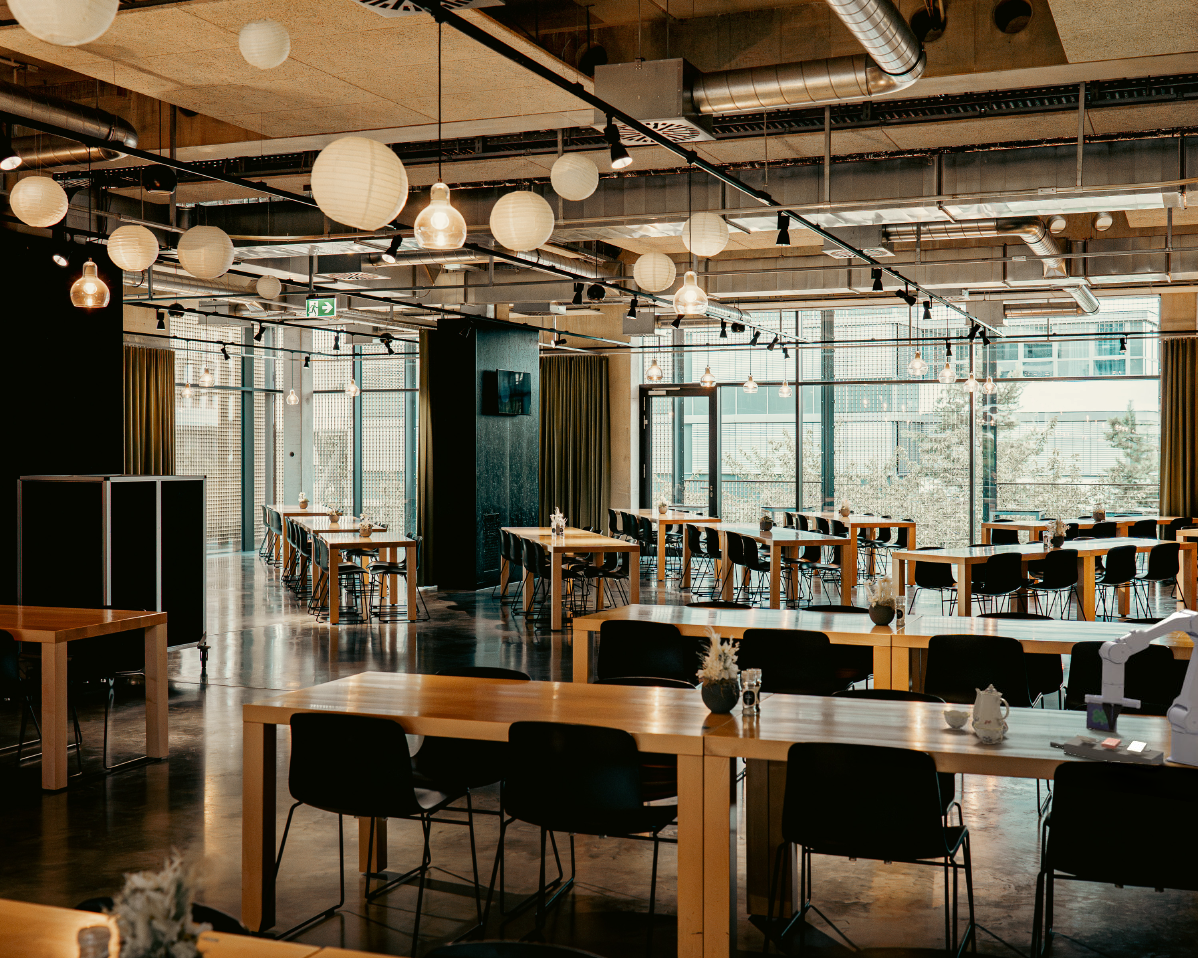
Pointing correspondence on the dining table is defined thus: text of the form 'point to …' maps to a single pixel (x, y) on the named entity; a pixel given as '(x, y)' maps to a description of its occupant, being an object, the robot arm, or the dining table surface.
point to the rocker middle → (1111, 743)
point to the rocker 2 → (1136, 747)
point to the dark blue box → (1098, 718)
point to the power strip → (1110, 752)
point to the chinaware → (983, 716)
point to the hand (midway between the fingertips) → (1111, 729)
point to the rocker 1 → (1086, 739)
